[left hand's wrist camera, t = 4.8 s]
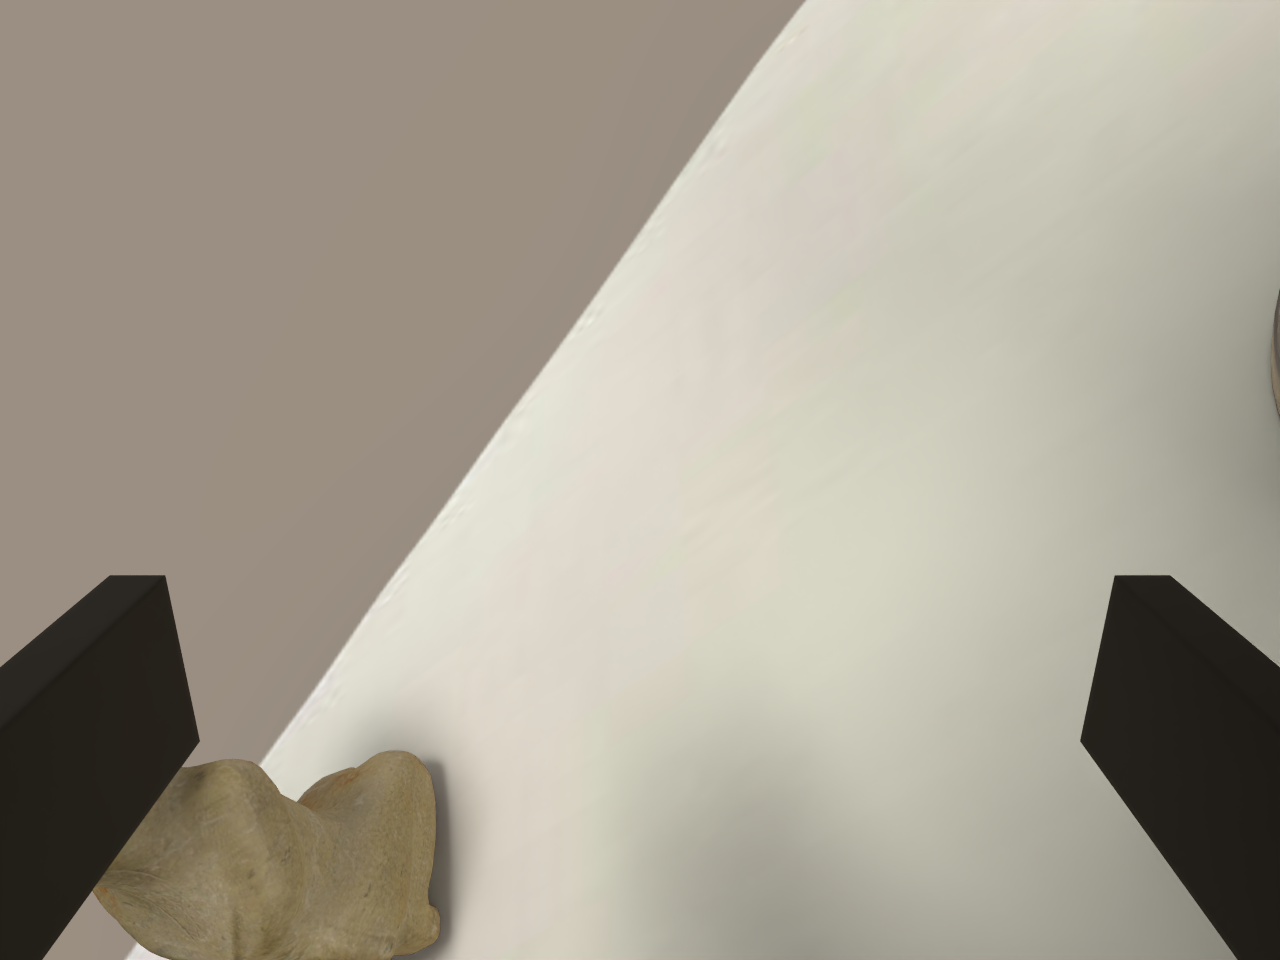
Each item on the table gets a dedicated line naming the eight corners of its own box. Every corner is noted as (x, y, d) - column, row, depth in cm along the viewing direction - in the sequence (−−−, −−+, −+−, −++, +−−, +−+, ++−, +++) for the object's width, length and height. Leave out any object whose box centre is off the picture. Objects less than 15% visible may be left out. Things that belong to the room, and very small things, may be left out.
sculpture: (462, 743, 33) (62, 610, 21) (477, 964, 29) (-5, 947, 17) (339, 791, 35) (-92, 692, 23) (337, 1005, 31) (-185, 1016, 19)
